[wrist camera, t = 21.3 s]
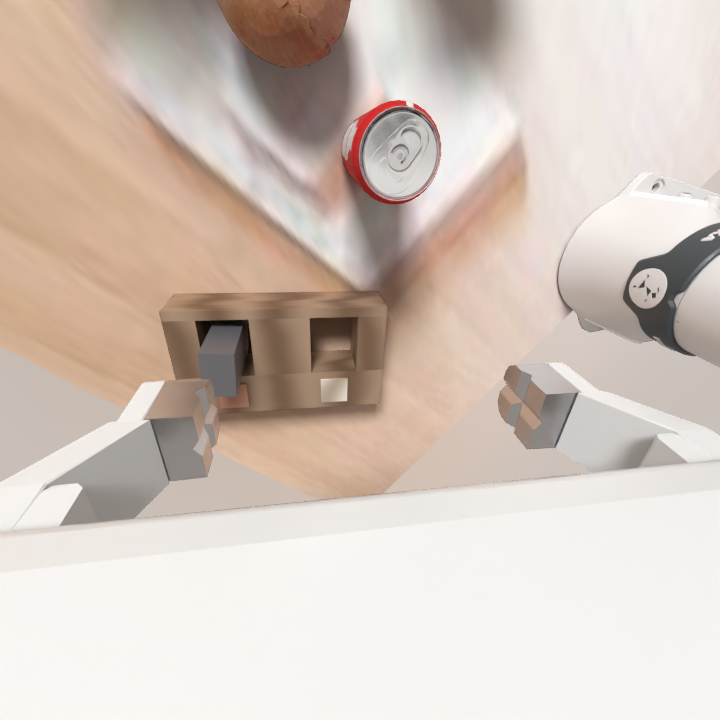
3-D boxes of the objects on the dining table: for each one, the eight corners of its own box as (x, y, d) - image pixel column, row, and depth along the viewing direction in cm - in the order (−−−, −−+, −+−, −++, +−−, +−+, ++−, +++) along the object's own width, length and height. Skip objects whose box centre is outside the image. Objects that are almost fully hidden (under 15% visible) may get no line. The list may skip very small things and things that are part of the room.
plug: (247, 311, 40) (234, 354, 32) (248, 347, 43) (236, 396, 34) (218, 310, 40) (197, 353, 31) (221, 347, 42) (202, 396, 33)
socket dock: (378, 291, 42) (388, 308, 37) (372, 381, 48) (380, 405, 43) (174, 294, 38) (157, 313, 34) (195, 390, 44) (184, 417, 40)
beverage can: (411, 154, 35) (477, 155, 22) (360, 202, 37) (396, 229, 24) (373, 96, 32) (424, 59, 20) (320, 150, 34) (335, 148, 21)
